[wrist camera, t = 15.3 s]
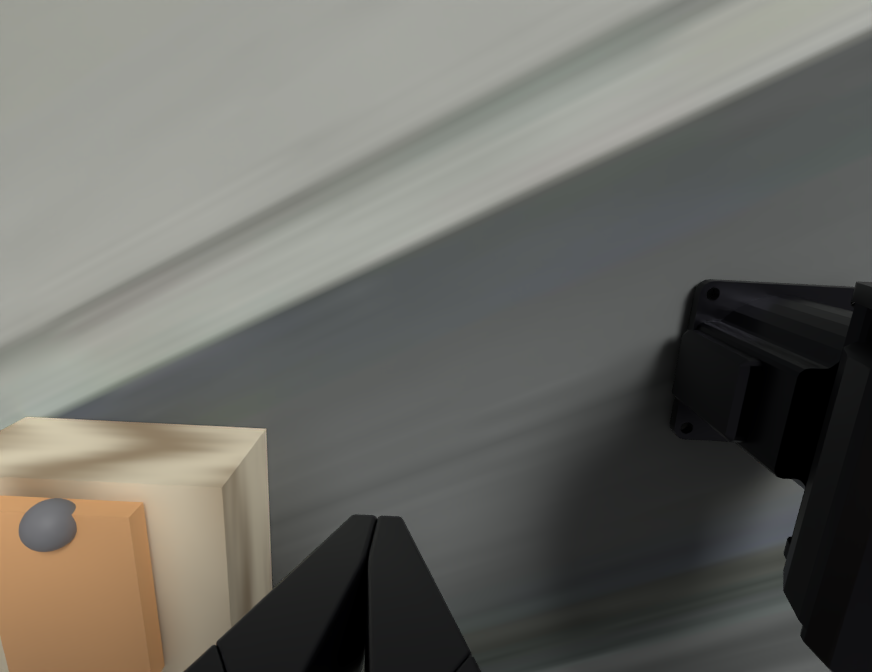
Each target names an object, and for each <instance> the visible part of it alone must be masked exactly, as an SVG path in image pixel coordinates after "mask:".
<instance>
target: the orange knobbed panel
mask: <svg viewBox="0 0 872 672" xmlns="http://www.w3.org/2000/svg"><path fill="white" fill-rule="evenodd" d="M0 637H1V641H2V646H3V650H4V654H5V658H6V662H7V666H8V670H9V672H161V671H162V669H163V668H164V666H165V664H164V657H163V649H162V642H161V634H160V626H159V619H158V611H157V603H156V596H155V588H154V581H153V573H152V565H151V558H150V550H149V543H148V535H147V527H146V520H145V512H144V505H143V502H127V501H106V500H86V499H65V498H44V497H23V496H2V495H0Z"/></svg>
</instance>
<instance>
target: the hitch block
mask: <svg viewBox="0 0 872 672" xmlns="http://www.w3.org/2000/svg"><path fill="white" fill-rule="evenodd" d="M0 495H2V496H23V497H44V498H65V499H86V500H106V501H127V502H143V505H144V512H145V520H146V527H147V535H148V543H149V550H150V558H151V565H152V573H153V581H154V588H155V596H156V603H157V611H158V619H159V626H160V634H161V642H162V649H163V657H164V664H165V666H164V668H163V669H162V671H161V672H183V671H184V670H185V669H187V668H188V667H189V666H190V665H191V664H192V663H193V662H194V661H195V660H197V659H198V658H199V657H200V656H201V655H202V654H203V653H204V652H205V651H206V650H207V649H208V648H209V647H211V646H212V645H216V642H217V640H218V639H219V638H221V637H222V636H223V635H224V634H225V633H226V632H227V631H228V630H229V629H230V628H231V627H232V626H233V625H235V624H236V623H237V622H238V621H239V620H240V619H241V618H242V617H243V616H244V615H245V614H246V613H247V612H249V611H250V610H251V609H252V608H253V607H254V606H255V605H256V604H257V603H258V602H259V601H260V600H261V599H263V598H264V597H265V596H266V595H267V594H268V593H269V592H270V591H271V590H272V568H271V542H270V515H269V489H268V463H267V436H266V429H261V428H241V427H221V426H201V425H180V424H160V423H140V422H120V421H99V420H79V419H59V418H38V417H25V418H23V419H22V420H20V421H18V422H16V423H14V424H12V425H10V426H8V427H6V428H4V429H2V430H1V431H0ZM0 672H9V670H8V666H7V662H6V658H5V654H4V650H3V646H2V641H1V637H0Z"/></svg>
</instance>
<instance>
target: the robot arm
mask: <svg viewBox="0 0 872 672" xmlns="http://www.w3.org/2000/svg"><path fill="white" fill-rule="evenodd" d="M710 288H713V289H714V294H713V296H712V297H711V298H708V299H707V297H706V293H707V291H708V290H709V289H710ZM851 301H852V302H855V303H854V304H852V305H851ZM672 393H673V394H674V396H675V400H674V405H673V410H672V416H671V421H670V428H671V430H672V431H673V432H674V433H675V434H676V435H677V436H678V437H679V438H682V439H690V440H711V441H729V442H735V443H736V444H738V445H739V446H740V447H741V448H743V449H744V450H745V451H746V452H747V453H749V454H750V455H751V456H752V457H754V458H755V459H756V460H757V461H758V462H760V463H761V464H762V465H763V466H765V467H766V468H767V469H768V470H770V471H771V472H772V473H773V474H774V475H776V476H777V477H779V478H783V479H792V480H793V481H795V482H796V483H797V484H798V485H800V486H801V487H802V488H803V489H805V491H804V494H803V498H802V502H801V505H800V509H799V513H798V516H797V520H796V524H795V527H794V531H793V535H792V537H788V538H787V542H786V546H785V550H784V556H785V558H786V562H785V566H784V570H783V591H784V593H785V595H786V597H787V599H788V601H789V603H790V604H791V606H792V608H793V610H794V612H795V614H796V616H797V618H798V620H799V621H800V622H801V623H802V625H803V626H802V629H801V635H800V636H801V638H802V640H803V641H804V643H805V644H806V645H807V646H808V647H809V648H810V649H811V650H812V652H813V653H814V654H815V655H816V656H817V657H818V658H819V659H820V660H821V661H822V662H823V663H824V664H825V665H826V666H827V667H828V668H829V669H830V671H831V672H872V282H856V285H855V287H846V286H827V285H808V284H789V283H770V282H751V281H732V280H713V279H709V280H704V281H702V282H701V283H699V285H698V286H697V287H696V289H695V293H694V298H693V303H692V309H691V314H690V319H689V325H688V330H687V331H686V332H685V333H684V334H683V335H682V340H681V345H680V351H679V356H678V362H677V367H676V372H675V378H674V383H673V389H672ZM686 422H688V426H687V427H686V428H685V429H680V427H681V425H682V424H683V423H686ZM364 655H365V670H364V672H481V670H480V668H479V666H478V665H477V663H476V661H475V659H474V657H472V655H471V651H470V649H469V648H468V646H467V644H466V642H465V640H464V638H463V636H462V634H461V632H460V630H459V628H458V626H457V624H456V622H455V620H454V618H453V616H452V614H451V612H450V610H449V608H448V606H447V605H446V603H445V601H444V599H443V597H442V595H441V593H440V591H439V589H438V587H437V585H436V583H435V581H434V579H433V577H432V575H431V573H430V571H429V569H428V567H427V565H426V563H425V562H424V560H423V558H422V556H421V554H420V552H419V550H418V548H417V546H416V544H415V542H414V540H413V538H412V536H411V534H410V532H409V530H408V528H407V526H406V524H405V522H404V521H403V519H402V518H401V517H399V516H380V517H378V519H377V518H376V517H375V516H374V515H356V514H355V515H352V516H351V517H350V518H349V519H348V520H347V521H345V522H344V523H343V524H342V525H341V526H340V527H339V528H338V529H337V530H336V531H335V532H334V533H333V534H331V535H330V536H329V537H328V538H327V539H326V540H325V541H324V542H323V543H322V544H321V545H320V546H319V547H317V548H316V549H315V550H314V551H313V552H312V553H311V554H310V555H309V556H308V557H307V558H306V559H305V560H303V561H302V562H301V563H300V564H299V565H298V566H297V567H296V568H295V569H294V570H293V571H292V572H291V573H289V574H288V575H287V576H286V577H285V578H284V579H283V580H282V581H281V582H280V583H279V584H278V585H277V586H275V587H274V588H273V589H272V590H271V591H270V592H269V593H268V594H267V595H266V596H265V597H264V598H263V599H261V600H260V601H259V602H258V603H257V604H256V605H255V606H254V607H253V608H252V609H251V610H250V611H249V612H247V613H246V614H245V615H244V616H243V617H242V618H241V619H240V620H239V621H238V622H237V623H236V624H235V625H233V626H232V627H231V628H230V629H229V630H228V631H227V632H226V633H225V634H224V635H223V636H222V637H221V638H219V639H218V640H217V642H216V645H212V646H211V647H209V648H208V649H207V650H206V651H205V652H204V653H203V654H202V655H201V656H200V657H199V658H198V659H197V660H195V661H194V662H193V663H192V664H191V665H190V666H189V667H188V668H187V669H185V670H184V671H183V672H361V670H362V666H363V661H364Z"/></svg>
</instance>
